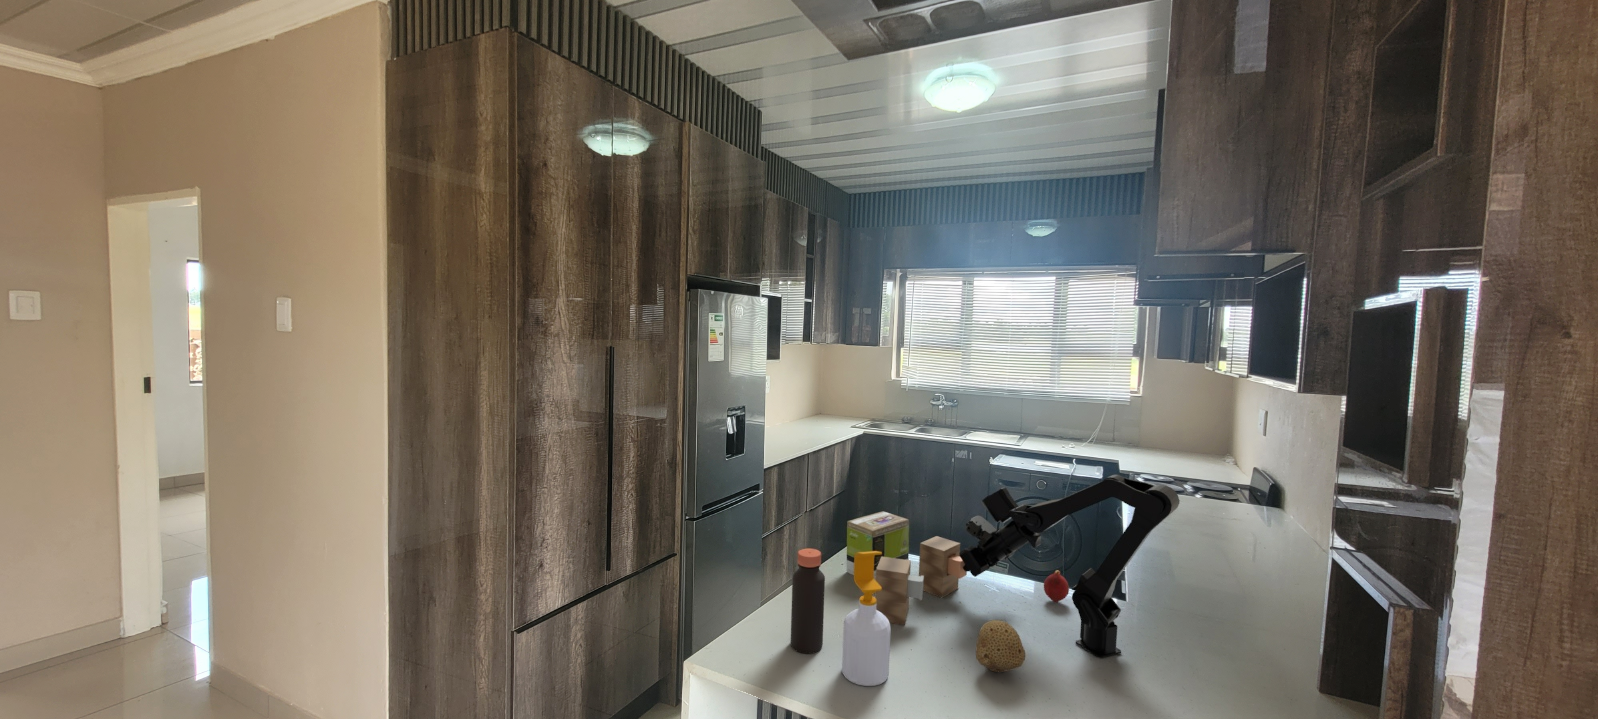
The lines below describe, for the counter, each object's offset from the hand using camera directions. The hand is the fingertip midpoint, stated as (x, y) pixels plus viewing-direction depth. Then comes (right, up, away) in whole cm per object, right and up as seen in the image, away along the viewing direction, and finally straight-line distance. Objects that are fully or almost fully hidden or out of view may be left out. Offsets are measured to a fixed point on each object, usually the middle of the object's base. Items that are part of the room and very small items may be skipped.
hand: (964, 569), depth 150 cm
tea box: (-20, -6, +15) cm, 26 cm away
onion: (+23, -8, 0) cm, 24 cm away
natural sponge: (-2, -9, -32) cm, 33 cm away
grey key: (-17, -2, -11) cm, 20 cm away
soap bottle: (-29, -9, -34) cm, 45 cm away
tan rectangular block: (-3, -2, +3) cm, 5 cm away
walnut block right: (-5, -7, +5) cm, 10 cm away
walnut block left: (-20, -7, -9) cm, 23 cm away
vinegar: (-40, -8, -24) cm, 47 cm away
